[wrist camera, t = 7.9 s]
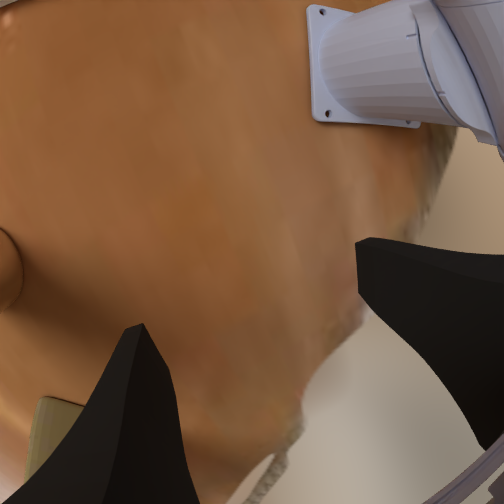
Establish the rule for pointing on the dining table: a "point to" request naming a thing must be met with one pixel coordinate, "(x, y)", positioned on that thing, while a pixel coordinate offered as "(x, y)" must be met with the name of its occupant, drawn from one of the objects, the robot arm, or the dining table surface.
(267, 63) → the dining table surface
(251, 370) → the dining table surface
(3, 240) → the beer glass
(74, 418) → the cheese
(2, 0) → the white rectangular board
